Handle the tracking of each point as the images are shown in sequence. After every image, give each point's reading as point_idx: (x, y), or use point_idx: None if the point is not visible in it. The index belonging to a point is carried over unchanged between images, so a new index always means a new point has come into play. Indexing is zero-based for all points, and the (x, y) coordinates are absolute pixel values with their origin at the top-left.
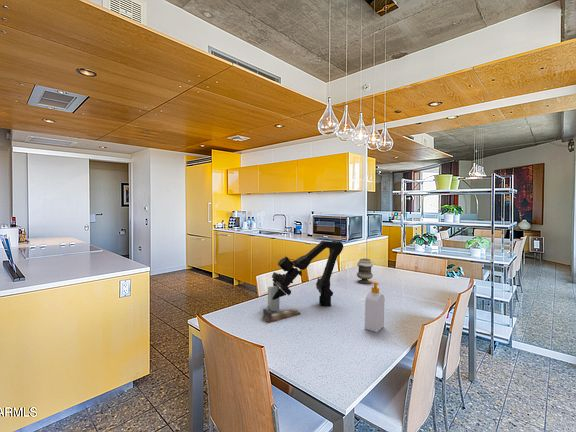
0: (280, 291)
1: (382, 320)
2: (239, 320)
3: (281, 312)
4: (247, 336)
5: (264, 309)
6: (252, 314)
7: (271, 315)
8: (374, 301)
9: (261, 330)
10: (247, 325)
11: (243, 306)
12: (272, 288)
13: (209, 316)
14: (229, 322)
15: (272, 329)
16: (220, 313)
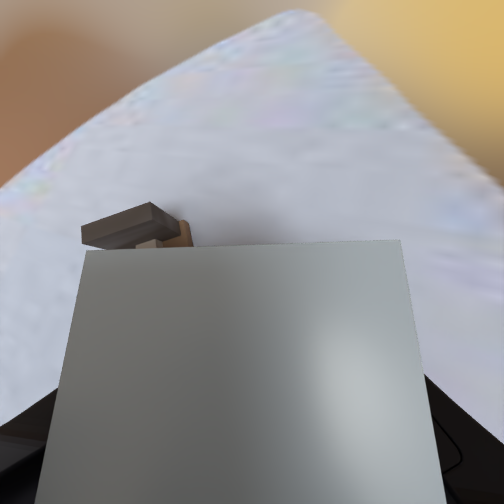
0: (35, 493)
1: None
2: (204, 124)
3: None
4: (68, 145)
5: (141, 208)
6: (252, 183)
7: (102, 247)
8: None
9: (82, 196)
10: (145, 151)
11: (394, 147)
12: (171, 332)
13: (288, 17)
14: (199, 89)
15: (68, 239)
16: (311, 49)
